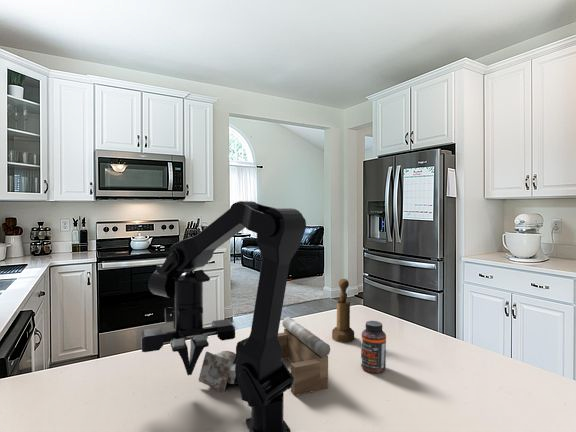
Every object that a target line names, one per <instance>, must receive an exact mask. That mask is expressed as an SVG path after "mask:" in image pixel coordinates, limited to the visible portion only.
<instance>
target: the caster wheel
mask: <svg viewBox="0 0 576 432" xmlns="http://www.w3.org/2000/svg"><path fill="white" fill-rule="evenodd" d="M235 357H236V352H233V351H231V350H224V351H219V352H217V353H212V352H210V351H205V354H204V358H203V362H202V365H201V368H200V372H199V376H198V382H199V383H202V384H205V385H206V386H209V387H211V388H212V389H215V390H218V391H219V392H223V393H224V392H226V391H225V390H226V387H227V384H231V385H235V384H237V385H239V384H238V380H237V376H236V374H235V365H236V364H233V361H234V360H235Z"/></svg>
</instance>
